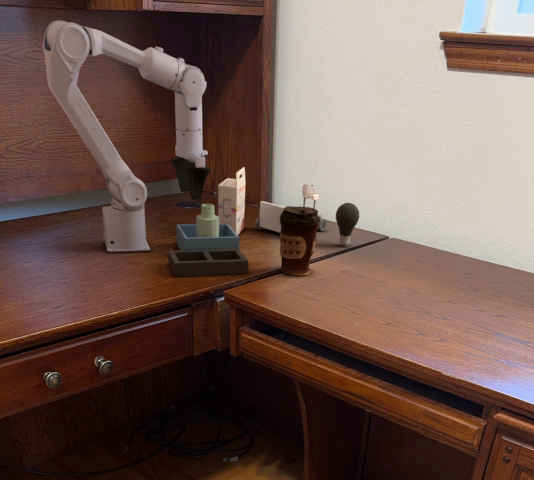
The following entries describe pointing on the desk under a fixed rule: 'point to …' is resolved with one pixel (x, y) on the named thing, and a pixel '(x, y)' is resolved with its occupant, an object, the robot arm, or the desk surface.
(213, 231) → the bottle
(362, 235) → the desk surface
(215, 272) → the bottle rack
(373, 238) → the desk surface
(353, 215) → the light bulb
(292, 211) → the coffee cup
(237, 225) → the ink cartridge box
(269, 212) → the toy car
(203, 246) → the basket
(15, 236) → the desk surface
